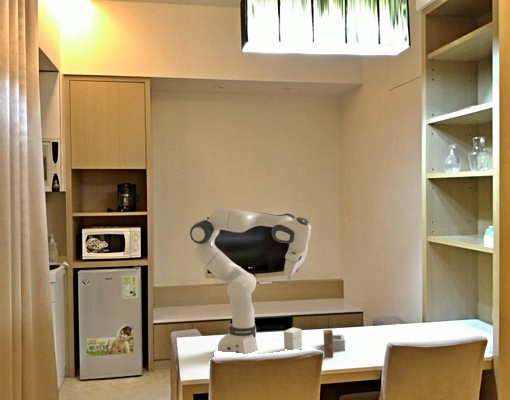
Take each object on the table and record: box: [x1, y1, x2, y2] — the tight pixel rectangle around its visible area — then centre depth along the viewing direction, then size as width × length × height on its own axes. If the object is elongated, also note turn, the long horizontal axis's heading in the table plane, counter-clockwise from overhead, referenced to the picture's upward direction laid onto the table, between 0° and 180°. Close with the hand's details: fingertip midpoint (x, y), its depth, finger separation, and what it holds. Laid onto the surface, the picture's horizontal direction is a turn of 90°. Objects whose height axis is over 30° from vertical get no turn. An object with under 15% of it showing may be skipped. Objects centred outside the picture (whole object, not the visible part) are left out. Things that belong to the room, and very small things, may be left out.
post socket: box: [333, 334, 346, 351], centre depth 233 cm, size 9×9×5 cm
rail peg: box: [323, 329, 334, 358], centre depth 221 cm, size 4×4×12 cm
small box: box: [283, 326, 303, 350], centre depth 230 cm, size 8×6×10 cm
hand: (293, 275), depth 226 cm, fingers open, 8 cm apart
